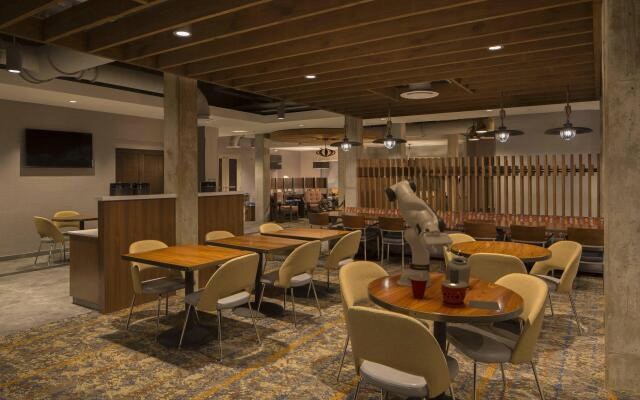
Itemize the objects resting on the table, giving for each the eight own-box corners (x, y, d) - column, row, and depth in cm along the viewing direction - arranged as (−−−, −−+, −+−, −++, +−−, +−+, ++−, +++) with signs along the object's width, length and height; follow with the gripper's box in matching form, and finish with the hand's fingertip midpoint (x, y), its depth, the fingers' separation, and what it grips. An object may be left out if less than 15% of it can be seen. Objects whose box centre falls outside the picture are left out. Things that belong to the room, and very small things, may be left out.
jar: (475, 291, 286) (476, 251, 284) (452, 291, 284) (453, 251, 283) (463, 284, 304) (463, 246, 303) (441, 284, 303) (442, 247, 302)
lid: (435, 283, 255) (436, 268, 255) (455, 280, 261) (455, 266, 261) (453, 288, 243) (453, 273, 242) (473, 286, 249) (473, 271, 248)
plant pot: (438, 302, 259) (438, 281, 259) (460, 302, 260) (460, 281, 260) (445, 309, 246) (446, 287, 246) (469, 308, 247) (469, 287, 247)
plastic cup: (430, 296, 272) (430, 277, 271) (424, 301, 262) (425, 280, 262) (412, 294, 277) (413, 275, 277) (406, 298, 268) (407, 278, 267)
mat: (469, 308, 248) (469, 307, 248) (468, 300, 263) (468, 300, 263) (500, 310, 243) (500, 310, 243) (497, 302, 259) (497, 302, 259)
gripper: (442, 235, 275) (453, 253, 266) (415, 236, 265) (426, 256, 257) (448, 228, 270) (459, 247, 262) (421, 230, 261) (431, 249, 253)
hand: (443, 251), depth 260 cm, fingers open, 8 cm apart
